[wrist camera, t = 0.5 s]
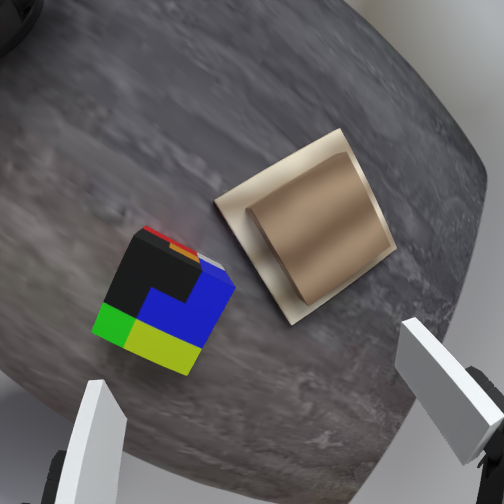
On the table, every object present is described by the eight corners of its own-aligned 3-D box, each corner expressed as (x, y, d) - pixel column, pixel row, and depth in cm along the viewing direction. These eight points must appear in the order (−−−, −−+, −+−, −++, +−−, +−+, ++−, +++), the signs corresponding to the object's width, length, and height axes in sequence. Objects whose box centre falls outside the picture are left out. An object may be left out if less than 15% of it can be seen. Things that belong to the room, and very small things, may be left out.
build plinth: (213, 200, 37) (218, 200, 32) (334, 130, 38) (351, 123, 34) (288, 321, 41) (300, 334, 37) (390, 246, 43) (409, 251, 39)
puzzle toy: (221, 264, 38) (235, 287, 29) (184, 335, 38) (186, 375, 29) (146, 225, 35) (133, 235, 26) (111, 299, 36) (91, 332, 26)
